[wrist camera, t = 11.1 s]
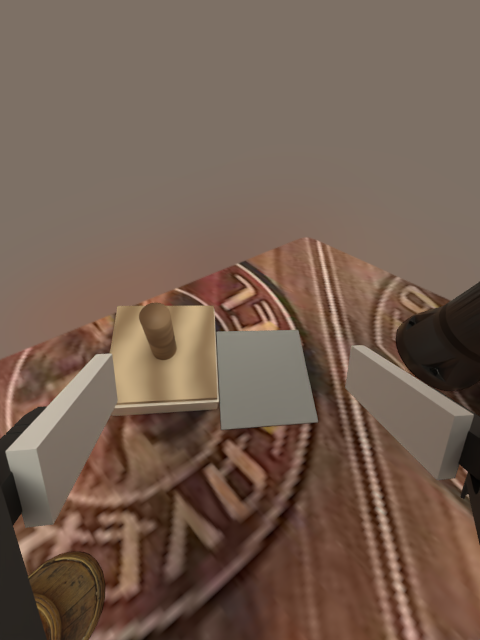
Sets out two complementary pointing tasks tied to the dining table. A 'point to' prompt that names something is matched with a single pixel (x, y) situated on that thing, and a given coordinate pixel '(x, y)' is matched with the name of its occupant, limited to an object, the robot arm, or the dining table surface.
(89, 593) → the wooden mug
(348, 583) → the dining table surface
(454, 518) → the dining table surface
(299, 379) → the rubber mat
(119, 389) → the oak cover
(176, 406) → the wooden box
